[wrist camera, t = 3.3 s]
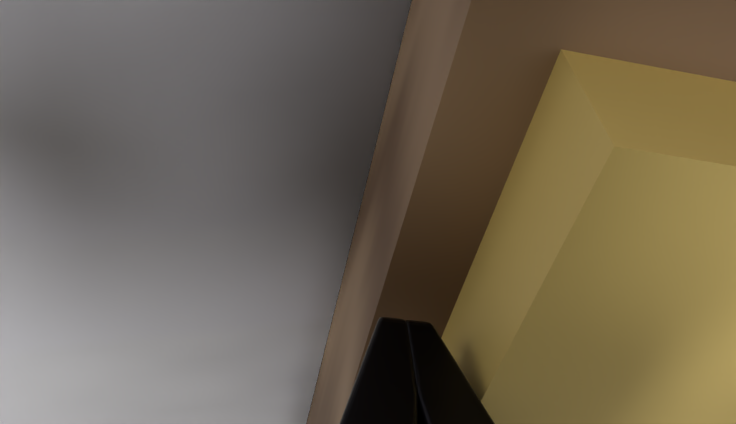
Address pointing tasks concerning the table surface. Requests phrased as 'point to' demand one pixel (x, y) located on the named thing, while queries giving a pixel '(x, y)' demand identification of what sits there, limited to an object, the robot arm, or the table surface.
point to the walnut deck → (478, 144)
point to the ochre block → (610, 256)
